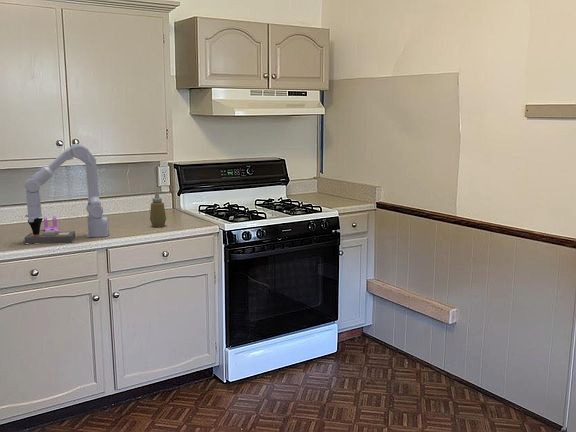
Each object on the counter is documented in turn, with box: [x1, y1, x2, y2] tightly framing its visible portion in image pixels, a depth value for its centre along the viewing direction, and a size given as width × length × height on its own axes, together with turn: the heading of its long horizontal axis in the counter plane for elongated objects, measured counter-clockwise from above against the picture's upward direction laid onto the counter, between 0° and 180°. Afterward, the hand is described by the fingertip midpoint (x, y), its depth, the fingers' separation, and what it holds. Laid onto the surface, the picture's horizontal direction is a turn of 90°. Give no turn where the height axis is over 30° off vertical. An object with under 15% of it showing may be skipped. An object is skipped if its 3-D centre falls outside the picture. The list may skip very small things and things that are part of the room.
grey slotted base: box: [23, 230, 77, 244], centre depth 272 cm, size 20×10×3 cm, turn 99°
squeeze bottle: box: [149, 190, 167, 228], centre depth 302 cm, size 8×8×18 cm
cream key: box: [58, 231, 71, 235], centre depth 273 cm, size 4×4×3 cm
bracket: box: [43, 215, 60, 232], centre depth 290 cm, size 13×6×7 cm, turn 27°
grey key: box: [44, 230, 56, 236], centre depth 271 cm, size 4×4×3 cm
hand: (36, 234), depth 270 cm, fingers closed, pressing on terracotta key
